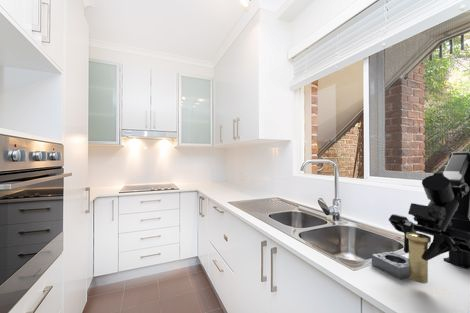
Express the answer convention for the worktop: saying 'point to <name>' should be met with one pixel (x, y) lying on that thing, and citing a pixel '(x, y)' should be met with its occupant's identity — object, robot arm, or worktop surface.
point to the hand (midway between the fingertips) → (414, 255)
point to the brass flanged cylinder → (418, 256)
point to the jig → (392, 264)
